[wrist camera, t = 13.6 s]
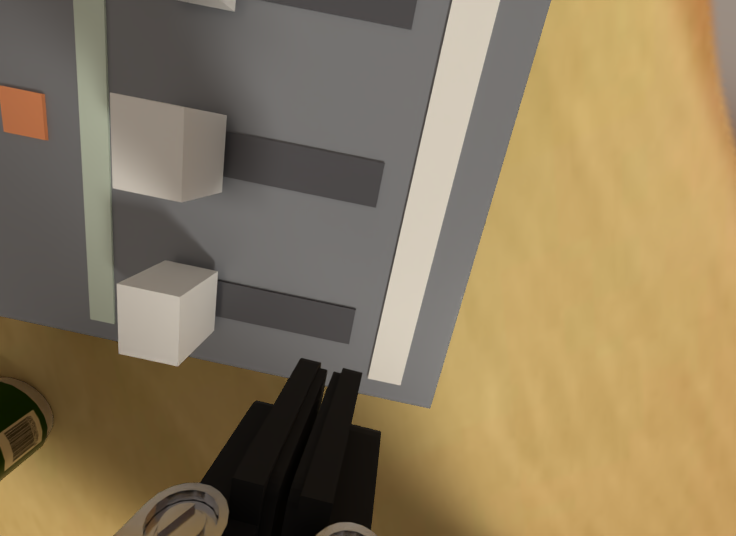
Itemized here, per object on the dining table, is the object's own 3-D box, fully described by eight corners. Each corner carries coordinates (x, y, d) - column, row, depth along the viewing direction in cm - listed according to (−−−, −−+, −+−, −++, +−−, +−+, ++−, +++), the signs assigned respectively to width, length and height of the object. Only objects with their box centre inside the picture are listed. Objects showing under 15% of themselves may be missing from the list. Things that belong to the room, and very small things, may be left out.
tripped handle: (226, 115, 14) (184, 107, 12) (221, 192, 15) (181, 202, 13) (166, 103, 14) (110, 92, 12) (165, 180, 15) (112, 188, 13)
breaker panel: (555, -66, 14) (647, -191, 9) (427, 383, 20) (436, 464, 15) (-15, -173, 14) (-247, -353, 9) (35, 300, 21) (-86, 350, 15)
